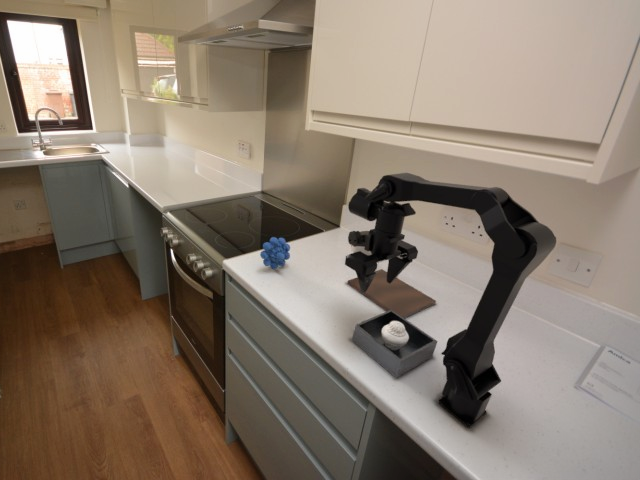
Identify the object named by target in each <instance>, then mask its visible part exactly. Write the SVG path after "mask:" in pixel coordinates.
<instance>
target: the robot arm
mask: <svg viewBox="0 0 640 480" xmlns="http://www.w3.org/2000/svg"><path fill="white" fill-rule="evenodd" d="M400 202H401V203H400ZM403 202H404V203H403ZM405 202H407V203H405ZM410 202H424V203H431V204H436V205H441V206H448V207H453V208H454V207H455V208H461V209H467V210H472V211H475V213H477V215H478V216H479V218H480V221H481V223H482V226H483V229H484V231H485V233H486V235H487V236H488V237H489V239H490V240H491V242H492V243H493V248H492V253H491V263H492V264H491V265H492V272H491V275H490V278H489V279H488V282H487V284H486V286H485V288H484V291H483V293H482V295H481V298H480V300H479V302H478V304H477V307H476V308H475V310H474V313H473V314H472V317H471V319H470V321H469V324H468V326H467V328H464V329H462V330H461V331H459V332H457V333H455V334H454V335H452V336H451V337H448V339H447V341H446V345H445V349H444V350H443V351H442V352H441V353H440V354H441V355H442V356H443V359H442V365H443V366H444V367H445V374H446V375H445V376H446V381H445V383H444V387H443V389H442V392H441V396H442V397H440V398H439V399H438V401H437V403H438V405H440V406H441V407H442V408H444V409H445V410H446V411H447V412H449V413H450V414H451V415H452V416H453V417H454V418H455V419H457V420H458V421H459V422H461V423H462V425H464V426H466V427H467V428H469V429H470V428H472V427H473V426H475V424H476V423H478V422H479V421H480V420H481V419H482V418H484V417H485V416H486V415H487V413H488V411H487V410H486V408H487V406H488V404H489V402H490V399H491V397H492V393H491V392H490V391H491V390H492V389H494V388H495V387H496V386H498V385H499V384H500V383H502V380H501V377H500V375H499V373H498V371H497V370H496V367H495V365H494V363H493V362H494V359H495V354H496V349H495V343H494V342H495V339H496V337H497V336H498V333H499V332H500V329H501V327H502V326H503V324H504V322H505V320H506V318H507V316H508V313H510V310H511V309H512V306H513V305H514V302H515V300H516V298H517V296H518V295H519V292H520V291H521V288H522V286H523V284H524V283H525V281H526V279H527V278H528V277H529V276H530V275H531V274H532V273H533V272H534V271H535V270H536V269H538V267H539V266H540V265H541V264H542V263H543V262H544V261H545V260H546V259H547V258H548V256H549V255H550V254H551V252H553V250H554V249H555V247H556V245H557V237H556V236H555V234H554V232H553V230H552V229H551V228H549V226H547V225H546V224H543V223H541V222H540V221H538V219H537V218H535V216H534V215H533V214H532V212H530V211H529V210H527V209H526V208H525V207H523V206H522V205H520V204H519V203H518V202H517V201H516V200H514V199H513V197H512V196H511V195H510V194H509V193H508V192H507V191H506V190H504V189H503V188H502V187H498V186H492V187H491V186H490V187H487V186H477V185H469V184H467V185H466V184H459V183H450V182H440V181H431V180H428V179H425V178H424V177H422V176H420V175H416V174H413V173H408V172H400V173H391V174H385V175H383V176H381V178H380V179H379V181H378V184H377V185H376V186H375V188H373V189H372V190H369V189H368V188H365V187H358V188H356V193H355V194H353V195H352V197H351V199H350V201H349V202H348V211H349V213H350V214H352V215H354V216H357V217H359V218H361V219H364V220H366V221H369V222H374V221H375V225H374V228H372V229H370V230H362V231H359V230H352V231H349V232H348V236H347V241H348V244H349V245H350V246H351V245H353V246H354V247H356V246H361V247H365V248H364V250H366V251H370V252H371V254H372V255H369V256H368V255H366V254H364V253H362V252H361V251H359V252H355V253H352V254H351V253H349V254H347V255H346V256H345V260H344V265H345V266H346V267H348V268H350V270H353V271H354V272H355V274H356V276H357V277H358V281H359V286H360V290H361V292H363V293H365V292H366V291H367V289H368V287H369V286H370V284H371V282H372V280H373V278H374V277H375V275H376V273H375V271H377V269H378V264H379V263H383V262H385V261H388V264H387V271H386V272H387V282H388V283H392V282H393V280H394V279H395V278H398V276H399V275H400V274H401V273H402V272H403V271H404V270H405V269H406V267H408V266H409V265H410V264H411V263H413V261H414V260H416V259H417V258H418V254H419V250H418V248H417V247H416V245H413V244H411V243H408V242H406V241H404V240H405V234H403V233H402V231H403V227H404V222H405V218H406V217H410V216H414V215H416V214H417V213H416V210H415V209H414V208H413V207H412V206H411V203H410ZM357 277H356V278H357Z"/></svg>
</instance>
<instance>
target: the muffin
mask: <svg viewBox="0 0 640 480" xmlns="http://www.w3.org/2000/svg"><path fill="white" fill-rule="evenodd" d="M382 338H383V341H384V343H385V346H386V347H387V348H389V349H390V350H398V349H400V348H401V347H403V346H404V345H405V344H406V343H407V342H408V340H409V336H408V333H407V332H406V330H405V326H404V325H403V324H402V323H401V322H399V321H392V322H390V324H388V325H385V326H384V327H383V328H382Z"/></svg>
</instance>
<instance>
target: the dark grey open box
mask: <svg viewBox="0 0 640 480" xmlns="http://www.w3.org/2000/svg"><path fill="white" fill-rule="evenodd" d="M392 321H399V322H401V323H402V324H403V325H404V326H405V330H406V332H407V333H408V336H409V340H408V342H407V343H406V344H405V345H404V346H403V347H401V348H400V349H398V350H390V349H389V348H387V347H386V346H385V343H384V341H383V338H382V328H383V327H384V326H385V325H388V324H390V322H392ZM351 339H352V340H351V341H352V342H353V343H355V344H356V345H357V346H358V347H359V348H361V350H362V351H364V352H365V353H366V354H368V356H370V357H371V358H372V359H373V360H374V361H375V362H376V363H378V364H379V365H380V366H381V367H382V368H384V369H385V370H386V371H387V372H388V373H389V374H391V375H392V376H393V377H394V378H395V379H397V378H399V377H401V376H402V375H405V373H407V372H409V371H411V370H413V369H414V368H416V367H418V366H420V365H421V364H423V363H424V362H426V361H428V360H429V359H431V358H433V356H434V354H435V351H436V349H437V348H436V347H437V344H438V340H437V339H435V338H434V337H432V336H431V335H429V334H428V333H426V332H425V331H423V330H422V329H421V328H419V327H418V326H416V325H414V323H412V322H410V321H409V320H407V319H406V318H403V317H401V316H400V315H398V314H397V313H396V312H394V311H393V310H389V311H384V312H381V313H379V314H377V315H375V316H373V317H370V318H368V319H366V320H363V321H361V322H358V323H357V324H354V328H353V334H352V338H351Z"/></svg>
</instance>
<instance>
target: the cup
mask: <svg viewBox="0 0 640 480" xmlns="http://www.w3.org/2000/svg"><path fill="white" fill-rule="evenodd" d="M350 247H351V248H350V254H352V253H355V252H359V251H361V252H362V253H364V254H366V255H368V256H369V255H372V254H371V252H370V251H366V250H364V248H365V247H361V246H356V247H354V246H353V245H350Z"/></svg>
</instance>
